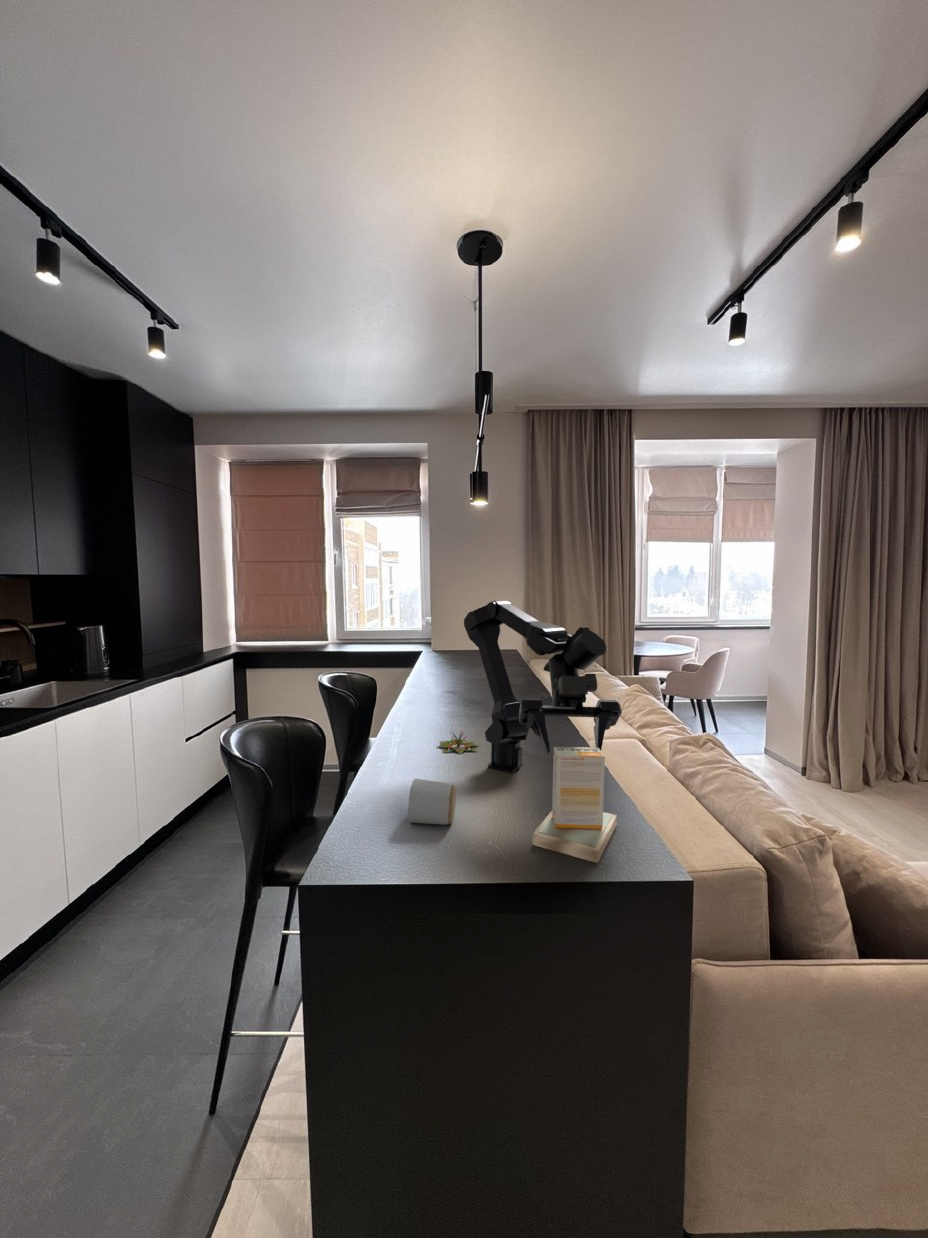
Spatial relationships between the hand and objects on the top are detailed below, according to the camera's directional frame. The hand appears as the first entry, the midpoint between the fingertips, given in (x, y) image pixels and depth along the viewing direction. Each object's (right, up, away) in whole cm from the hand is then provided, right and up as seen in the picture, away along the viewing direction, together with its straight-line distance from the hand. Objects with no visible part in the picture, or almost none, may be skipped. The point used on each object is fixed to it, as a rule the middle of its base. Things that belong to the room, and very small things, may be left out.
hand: (573, 753), depth 93 cm
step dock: (0, -14, -3) cm, 14 cm away
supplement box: (0, -12, -3) cm, 12 cm away
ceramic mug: (-26, -13, +3) cm, 29 cm away
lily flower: (-22, -10, +42) cm, 48 cm away
